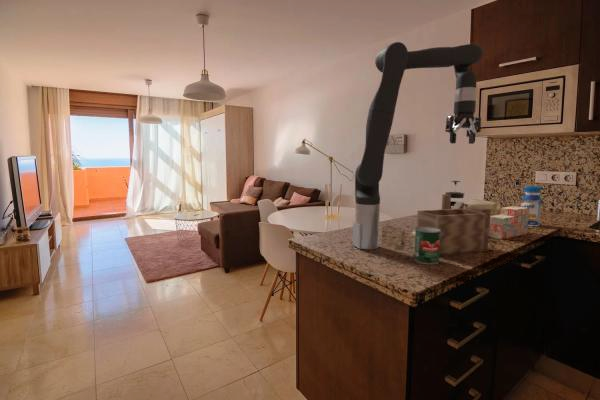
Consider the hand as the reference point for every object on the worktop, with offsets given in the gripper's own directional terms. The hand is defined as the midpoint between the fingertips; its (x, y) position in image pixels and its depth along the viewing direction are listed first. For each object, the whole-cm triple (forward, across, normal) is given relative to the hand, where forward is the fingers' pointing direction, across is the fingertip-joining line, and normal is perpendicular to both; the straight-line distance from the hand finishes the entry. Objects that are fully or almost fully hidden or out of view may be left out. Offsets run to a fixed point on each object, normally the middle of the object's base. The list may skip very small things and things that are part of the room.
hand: (462, 143), depth 128 cm
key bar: (+24, +5, -8) cm, 26 cm away
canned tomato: (+40, -26, -17) cm, 51 cm away
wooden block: (+40, +10, +16) cm, 45 cm away
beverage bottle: (+40, +61, +20) cm, 76 cm away
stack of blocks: (+40, +32, +6) cm, 52 cm away
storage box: (+40, -10, -8) cm, 42 cm away
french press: (+40, +22, +28) cm, 54 cm away
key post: (+40, +2, -8) cm, 41 cm away
